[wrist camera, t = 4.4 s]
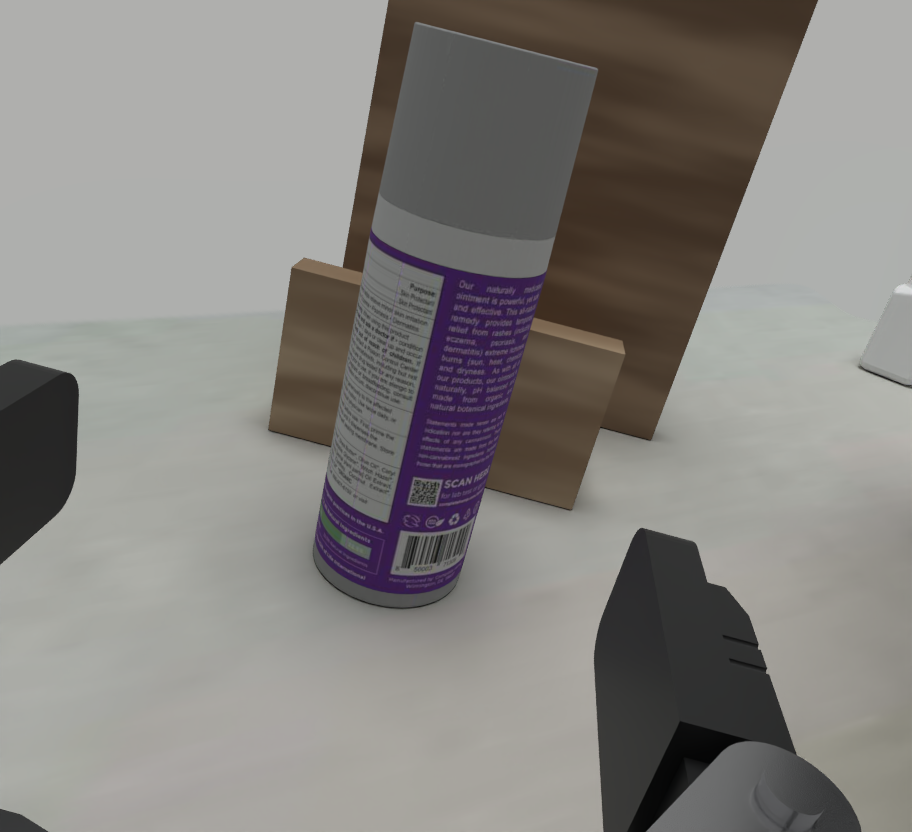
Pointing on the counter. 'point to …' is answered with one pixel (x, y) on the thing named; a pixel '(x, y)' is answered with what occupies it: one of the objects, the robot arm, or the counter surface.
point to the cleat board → (581, 217)
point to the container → (445, 308)
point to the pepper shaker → (892, 339)
